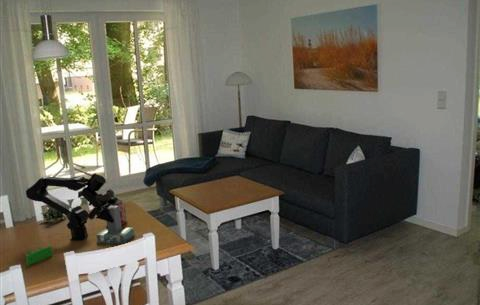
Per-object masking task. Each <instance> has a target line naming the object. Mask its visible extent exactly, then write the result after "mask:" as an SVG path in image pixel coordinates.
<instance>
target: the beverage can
mask: <svg viewBox="0 0 480 305" xmlns="http://www.w3.org/2000/svg"><path fill="white" fill-rule="evenodd" d="M115 206H119V209H120V217H121V226H122V225H124V224H125V223H126V222H127V221H128V220H127V213H126V205H125V203H124V201H123V200H122V199H118V201H117V202H116V204H115Z"/></svg>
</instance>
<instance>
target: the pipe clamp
mask: <svg viewBox="0 0 480 305" xmlns="http://www.w3.org/2000/svg"><path fill="white" fill-rule="evenodd" d="M28 253H29V254H26V255H25V258H26V259H25V260H26V266H28V265H29V266H31V265H34V264H36V263H38V262H40V261H39V260H41V261H43V260H45V258H46V259H47V257H48V258H50V257H53V256H52V255H54V254H53V249H52V246H51V245H49V246H46V247H44V248H43V247H39V248H38V249H37V250H31V251H28ZM49 256H50V257H49ZM42 259H43V260H42ZM37 261H38V262H37ZM35 262H36V263H35ZM33 263H34V264H33ZM30 264H31V265H30Z"/></svg>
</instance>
